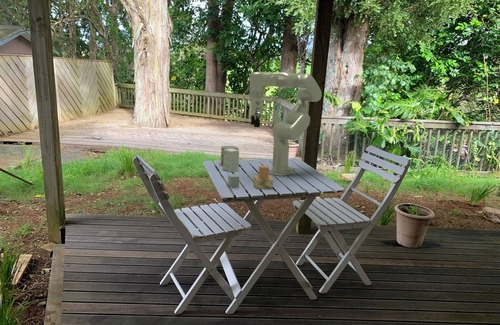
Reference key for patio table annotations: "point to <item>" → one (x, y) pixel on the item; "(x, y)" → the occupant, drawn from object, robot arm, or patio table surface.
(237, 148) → the canned food
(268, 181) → the tan square tray
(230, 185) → the slate block
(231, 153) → the small box
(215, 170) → the patio table surface
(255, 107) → the robot arm
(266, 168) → the terracotta block
